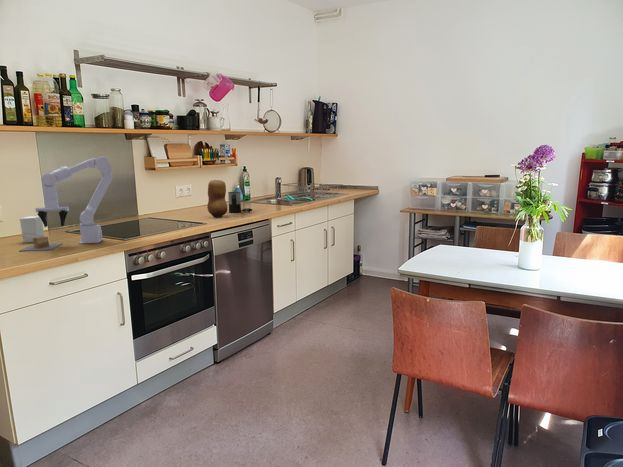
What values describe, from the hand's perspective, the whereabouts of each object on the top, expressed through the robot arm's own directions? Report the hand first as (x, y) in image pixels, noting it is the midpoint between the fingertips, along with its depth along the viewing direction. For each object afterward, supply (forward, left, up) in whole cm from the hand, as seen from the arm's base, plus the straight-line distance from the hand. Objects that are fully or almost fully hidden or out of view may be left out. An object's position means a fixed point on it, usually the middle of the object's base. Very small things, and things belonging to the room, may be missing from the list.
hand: (54, 226), depth 223 cm
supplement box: (+16, -14, -10) cm, 23 cm away
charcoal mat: (+5, +5, -9) cm, 12 cm away
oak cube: (+5, +5, -9) cm, 11 cm away
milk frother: (-90, -94, -10) cm, 131 cm away
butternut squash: (-75, -74, -10) cm, 106 cm away
